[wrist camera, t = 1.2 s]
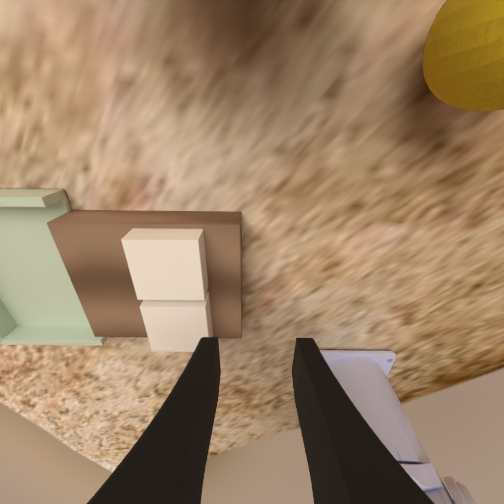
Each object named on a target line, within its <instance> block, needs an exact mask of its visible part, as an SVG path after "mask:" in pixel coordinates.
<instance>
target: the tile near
mask: <svg viewBox="0 0 504 504" xmlns="http://www.w3.org/2000/svg"><path fill="white" fill-rule="evenodd" d="M121 241H122V245H123V249H124V252H125V256H126V259H127V263H128V267H129V270H130V274H131V278H132V281H133V285H134V288H135V292H136V296H137V299H138V300H205V297H206V293H207V289H208V276H207V265H206V255H205V244H204V233H203V229H149V228H133V229H132V230H131V231H130V232H129V233H127V234H126V235H125V236H124V237H123V238H122V239H121Z"/></svg>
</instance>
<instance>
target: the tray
mask: <svg viewBox="0 0 504 504" xmlns="http://www.w3.org/2000/svg"><path fill="white" fill-rule="evenodd" d="M69 211H71V207H70V204H69V202H68V199H67V196H66V193H65V191H64V189H28V188H0V345H103V344H104V343H105V341H106V340H107V338H108V337H95V336H94V334H93V331H92V329H91V326H90V324H89V322H88V319H87V317H86V315H85V312H84V310H83V308H82V305H81V303H80V301H79V298H78V296H77V294H76V291H75V289H74V287H73V284H72V282H71V279H70V277H69V275H68V272H67V270H66V268H65V265H64V263H63V261H62V258H61V256H60V254H59V251H58V249H57V247H56V244H55V242H54V240H53V237H52V235H51V232H50V230H49V228H48V225H47V222H49V221H51V220H53V219H55V218H57V217H59V216H61V215H63V214H65V213H67V212H69Z"/></svg>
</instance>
